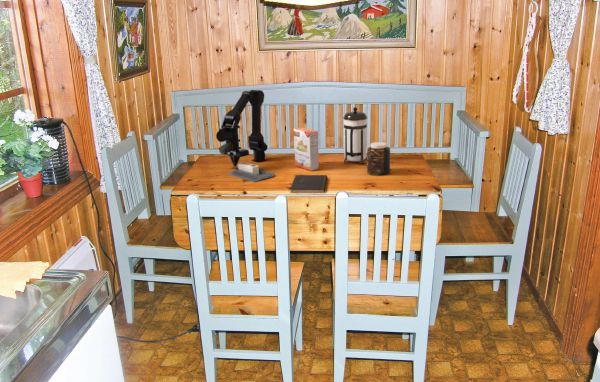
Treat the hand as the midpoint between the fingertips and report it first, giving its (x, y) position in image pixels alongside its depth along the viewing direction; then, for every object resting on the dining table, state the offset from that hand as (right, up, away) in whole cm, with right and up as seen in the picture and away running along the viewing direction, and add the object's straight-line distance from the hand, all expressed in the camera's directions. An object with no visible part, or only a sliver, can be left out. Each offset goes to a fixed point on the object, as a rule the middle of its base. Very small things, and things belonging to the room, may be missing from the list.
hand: (235, 166), depth 299 cm
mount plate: (+10, -5, -9) cm, 14 cm away
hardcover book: (+39, -11, -28) cm, 49 cm away
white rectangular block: (+8, -3, -7) cm, 11 cm away
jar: (+75, -4, -12) cm, 76 cm away
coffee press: (+65, +3, +9) cm, 66 cm away
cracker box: (+38, -1, +1) cm, 38 cm away
